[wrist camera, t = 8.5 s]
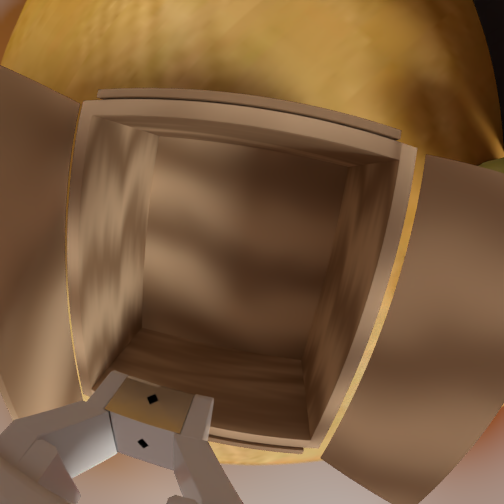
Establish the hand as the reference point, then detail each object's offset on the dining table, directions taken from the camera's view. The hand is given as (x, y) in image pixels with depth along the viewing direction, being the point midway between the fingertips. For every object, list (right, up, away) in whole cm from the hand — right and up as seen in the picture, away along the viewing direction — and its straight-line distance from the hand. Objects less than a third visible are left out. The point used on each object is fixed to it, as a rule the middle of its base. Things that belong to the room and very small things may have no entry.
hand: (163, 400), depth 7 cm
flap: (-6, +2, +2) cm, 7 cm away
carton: (+1, +4, +16) cm, 16 cm away
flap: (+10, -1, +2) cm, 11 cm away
